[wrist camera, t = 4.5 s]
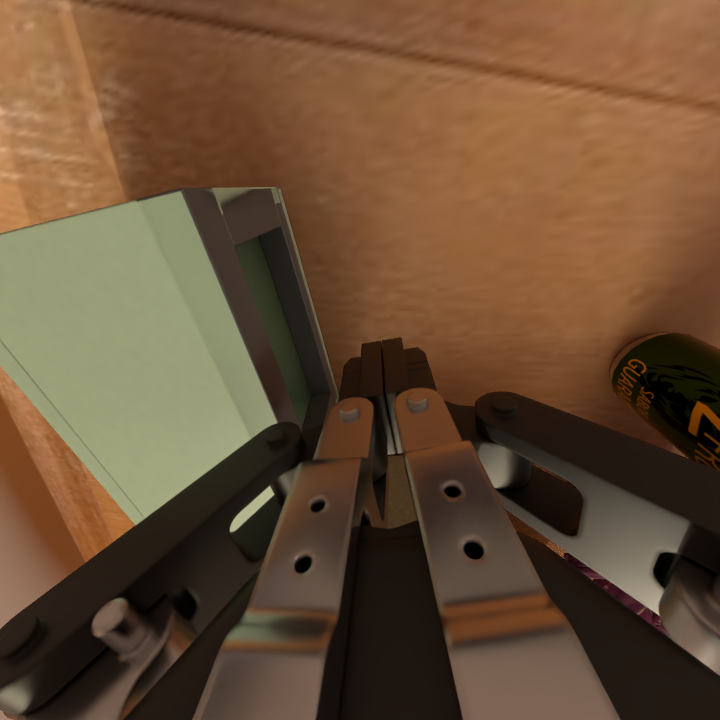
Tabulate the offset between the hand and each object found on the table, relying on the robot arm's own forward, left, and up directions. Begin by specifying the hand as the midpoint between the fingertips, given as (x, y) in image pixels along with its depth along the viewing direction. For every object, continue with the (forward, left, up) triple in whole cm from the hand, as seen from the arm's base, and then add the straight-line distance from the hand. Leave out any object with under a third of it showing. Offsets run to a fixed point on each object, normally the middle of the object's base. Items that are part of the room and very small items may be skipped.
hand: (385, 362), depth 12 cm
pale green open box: (0, -9, -8) cm, 12 cm away
